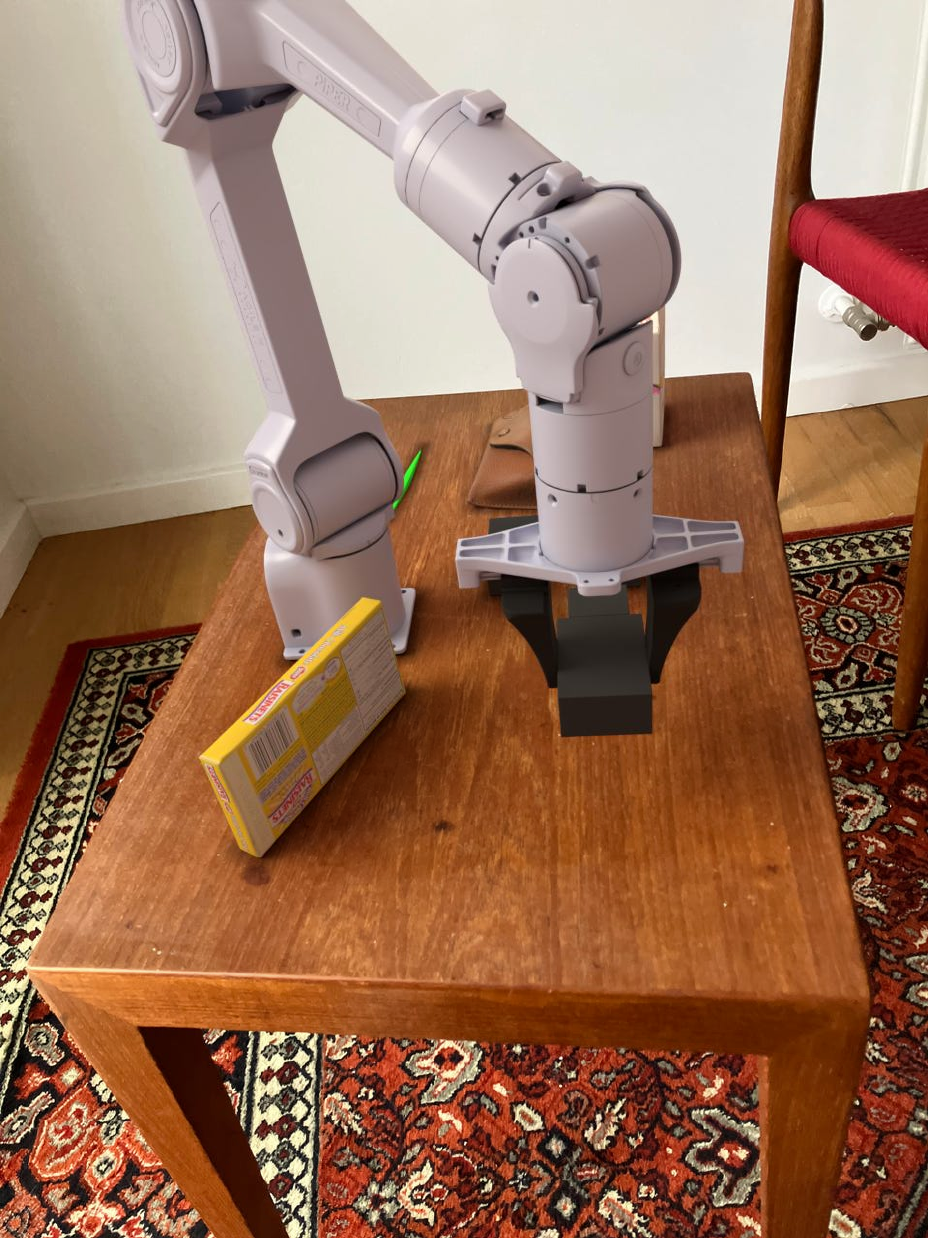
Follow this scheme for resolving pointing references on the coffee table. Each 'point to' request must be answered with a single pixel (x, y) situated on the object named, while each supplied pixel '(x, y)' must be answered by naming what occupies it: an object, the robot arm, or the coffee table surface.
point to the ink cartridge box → (658, 374)
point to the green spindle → (408, 477)
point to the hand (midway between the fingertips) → (601, 674)
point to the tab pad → (602, 668)
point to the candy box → (305, 727)
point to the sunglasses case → (507, 465)
